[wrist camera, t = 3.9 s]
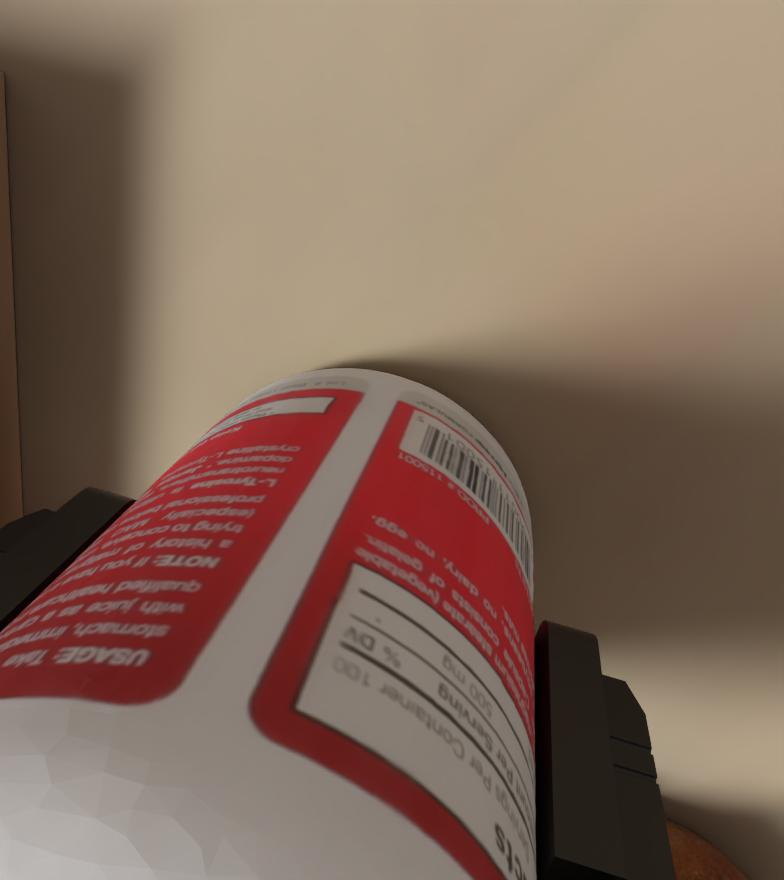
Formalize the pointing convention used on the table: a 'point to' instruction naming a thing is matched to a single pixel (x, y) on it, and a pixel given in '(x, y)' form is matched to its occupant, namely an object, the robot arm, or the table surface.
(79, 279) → the table surface
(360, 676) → the pill bottle
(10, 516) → the shallow rectangular tray
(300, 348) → the table surface
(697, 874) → the bread roll
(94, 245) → the table surface
